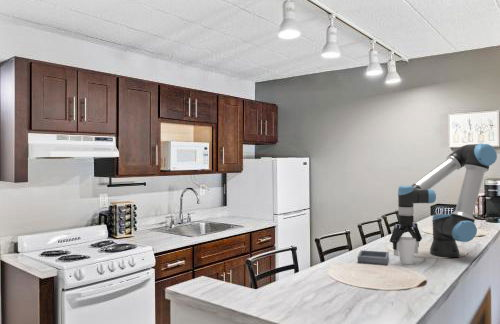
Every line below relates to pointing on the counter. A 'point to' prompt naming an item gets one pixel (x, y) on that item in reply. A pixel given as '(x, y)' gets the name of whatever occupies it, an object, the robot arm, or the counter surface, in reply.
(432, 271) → the counter surface
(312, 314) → the counter surface
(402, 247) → the foam cup
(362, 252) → the bin
